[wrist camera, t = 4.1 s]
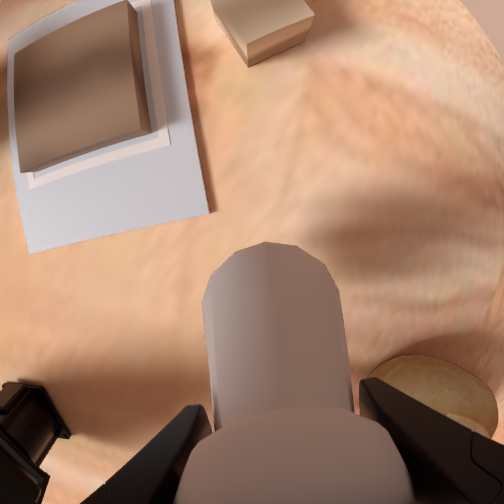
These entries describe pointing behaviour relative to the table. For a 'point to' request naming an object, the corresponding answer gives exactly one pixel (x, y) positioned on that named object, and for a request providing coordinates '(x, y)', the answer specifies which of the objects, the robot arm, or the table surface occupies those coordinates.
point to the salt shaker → (285, 393)
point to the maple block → (263, 25)
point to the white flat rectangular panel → (117, 147)
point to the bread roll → (443, 390)
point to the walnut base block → (80, 89)
